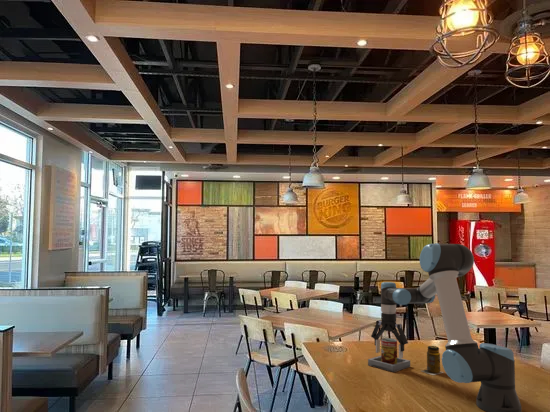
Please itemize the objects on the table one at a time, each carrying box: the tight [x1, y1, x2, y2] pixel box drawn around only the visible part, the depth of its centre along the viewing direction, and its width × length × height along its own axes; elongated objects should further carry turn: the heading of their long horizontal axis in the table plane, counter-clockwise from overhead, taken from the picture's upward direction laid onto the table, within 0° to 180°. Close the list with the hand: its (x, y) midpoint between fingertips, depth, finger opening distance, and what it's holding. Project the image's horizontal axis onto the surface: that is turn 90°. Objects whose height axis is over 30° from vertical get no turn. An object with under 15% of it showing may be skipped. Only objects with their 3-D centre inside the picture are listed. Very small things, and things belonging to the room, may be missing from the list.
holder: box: [367, 355, 411, 373], centre depth 211 cm, size 15×15×3 cm
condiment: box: [421, 345, 445, 376], centre depth 203 cm, size 7×8×12 cm
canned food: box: [380, 337, 398, 365], centre depth 212 cm, size 8×8×12 cm
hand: (389, 355), depth 211 cm, fingers open, 13 cm apart
